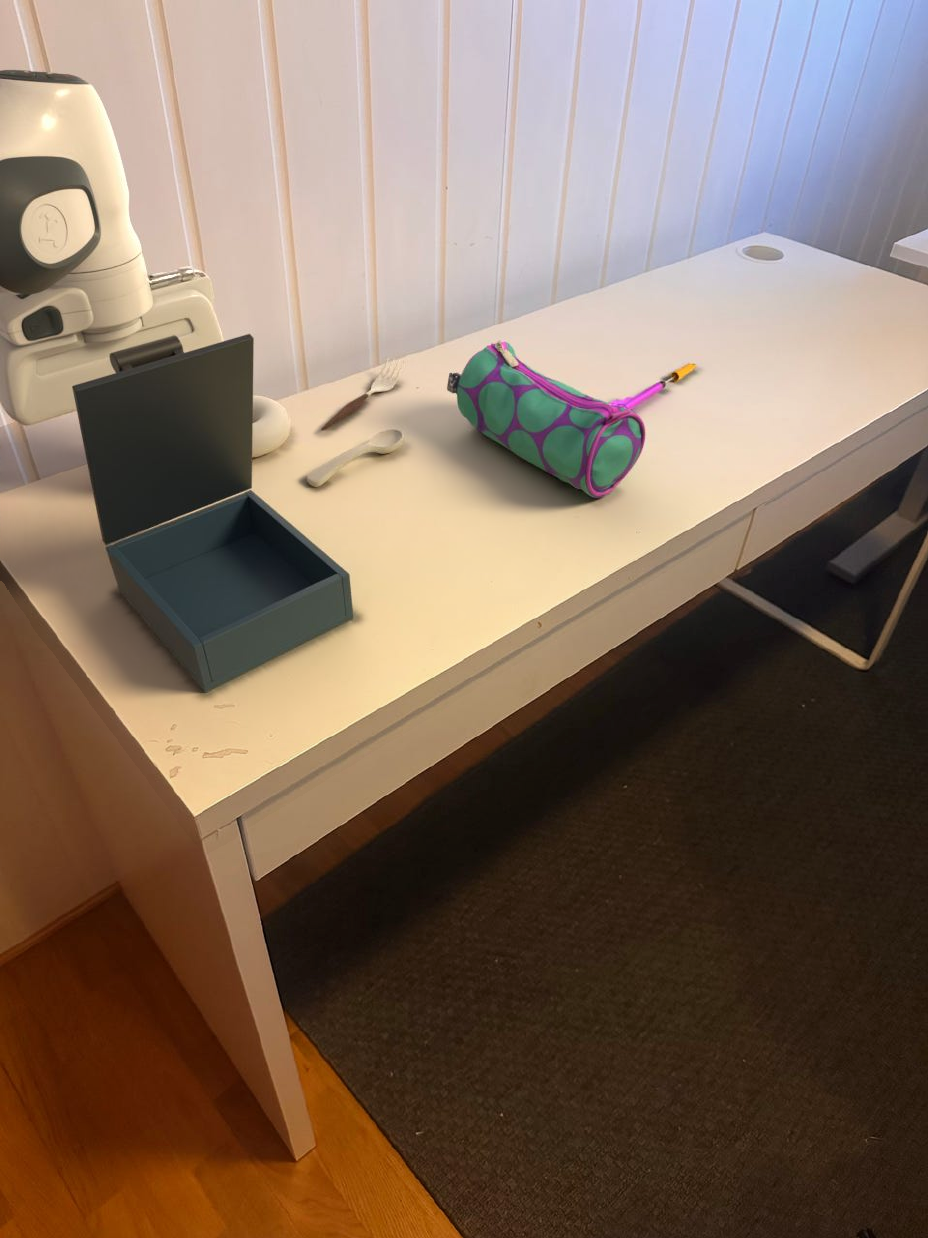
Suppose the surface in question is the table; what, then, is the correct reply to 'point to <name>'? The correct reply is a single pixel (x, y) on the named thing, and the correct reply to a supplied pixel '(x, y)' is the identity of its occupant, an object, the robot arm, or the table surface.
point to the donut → (268, 425)
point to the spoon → (378, 443)
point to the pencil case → (548, 421)
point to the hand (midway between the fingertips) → (134, 433)
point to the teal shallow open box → (231, 587)
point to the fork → (367, 394)
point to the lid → (167, 431)
